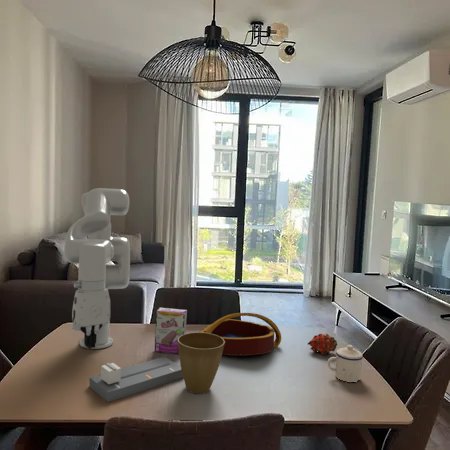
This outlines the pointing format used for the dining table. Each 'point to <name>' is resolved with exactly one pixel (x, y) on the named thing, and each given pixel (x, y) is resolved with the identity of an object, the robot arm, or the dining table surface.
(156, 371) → the fader panel
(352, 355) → the teacup with lid
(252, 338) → the decorative basket
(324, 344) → the dragon fruit
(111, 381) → the fader knob
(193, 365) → the plant pot
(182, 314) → the candy bar box
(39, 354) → the dining table surface
